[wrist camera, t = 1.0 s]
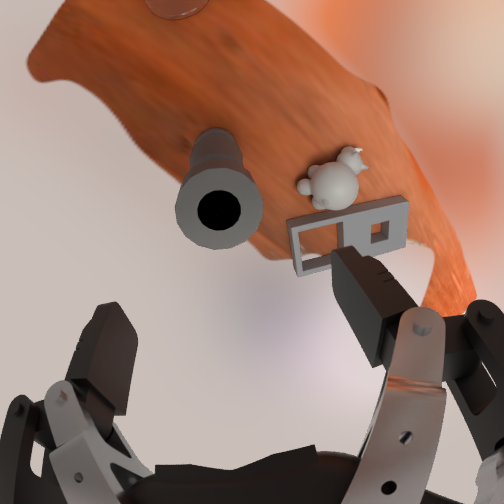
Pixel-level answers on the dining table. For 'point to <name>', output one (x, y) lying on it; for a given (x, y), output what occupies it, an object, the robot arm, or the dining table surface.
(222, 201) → the candle holder
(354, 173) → the toy rhinoceros
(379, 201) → the hole board
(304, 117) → the dining table surface
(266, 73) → the dining table surface
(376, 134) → the dining table surface
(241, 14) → the dining table surface
